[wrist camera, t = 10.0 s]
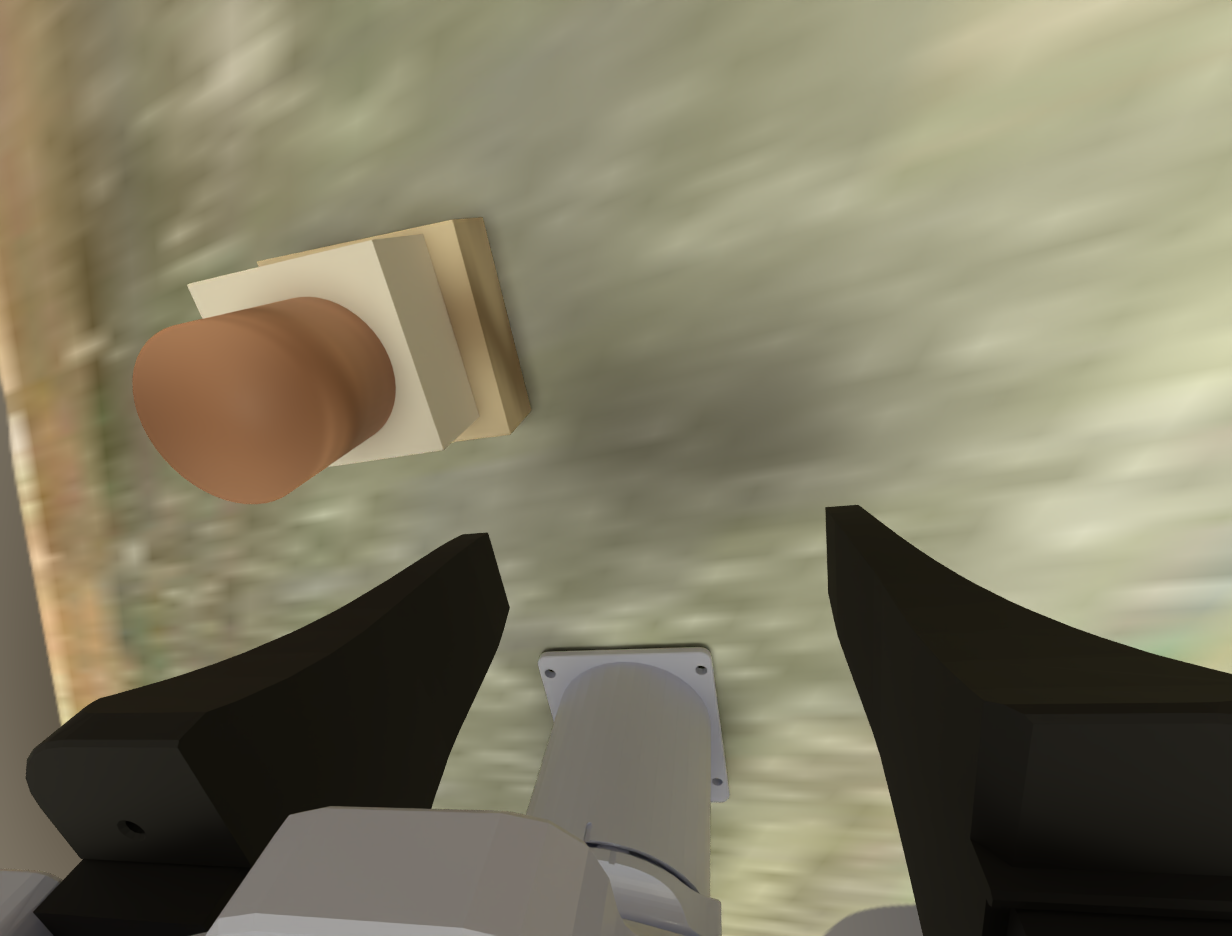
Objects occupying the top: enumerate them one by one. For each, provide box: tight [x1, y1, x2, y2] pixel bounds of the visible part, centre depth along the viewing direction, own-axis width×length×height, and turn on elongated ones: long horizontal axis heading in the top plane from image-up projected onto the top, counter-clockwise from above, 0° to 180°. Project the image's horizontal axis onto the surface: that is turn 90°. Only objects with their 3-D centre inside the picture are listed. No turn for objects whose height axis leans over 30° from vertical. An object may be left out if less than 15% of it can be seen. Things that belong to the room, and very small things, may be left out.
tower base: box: [257, 217, 531, 442], centre depth 21 cm, size 7×7×3 cm
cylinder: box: [133, 297, 396, 504], centre depth 15 cm, size 4×4×4 cm
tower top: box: [187, 234, 480, 467], centre depth 19 cm, size 6×6×3 cm
